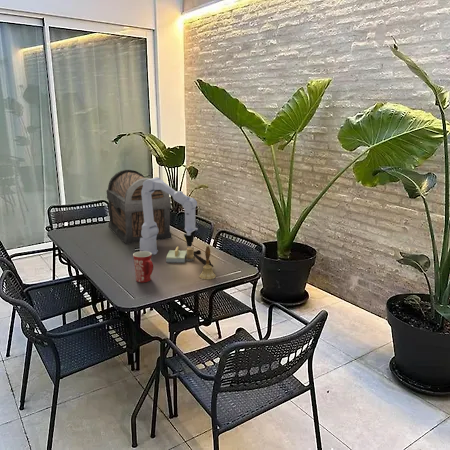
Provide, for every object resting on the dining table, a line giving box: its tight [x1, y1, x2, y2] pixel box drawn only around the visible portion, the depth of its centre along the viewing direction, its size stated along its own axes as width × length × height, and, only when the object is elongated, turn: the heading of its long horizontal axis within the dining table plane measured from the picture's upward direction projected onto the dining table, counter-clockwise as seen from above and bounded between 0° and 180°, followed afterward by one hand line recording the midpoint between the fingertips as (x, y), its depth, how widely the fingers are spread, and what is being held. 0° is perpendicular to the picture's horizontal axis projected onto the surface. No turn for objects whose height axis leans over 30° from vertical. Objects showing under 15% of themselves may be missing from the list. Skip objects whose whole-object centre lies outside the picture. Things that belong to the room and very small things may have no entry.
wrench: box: [194, 250, 214, 268], centre depth 231 cm, size 5×5×30 cm
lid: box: [165, 246, 187, 260], centre depth 233 cm, size 10×12×4 cm
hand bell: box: [198, 245, 217, 281], centre depth 208 cm, size 8×8×16 cm
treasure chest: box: [105, 169, 173, 245], centre depth 278 cm, size 45×32×40 cm
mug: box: [132, 250, 154, 283], centre depth 202 cm, size 13×9×14 cm
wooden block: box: [186, 247, 195, 259], centre depth 233 cm, size 4×4×6 cm
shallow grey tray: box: [165, 253, 187, 264], centre depth 234 cm, size 10×12×2 cm
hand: (190, 244), depth 231 cm, fingers open, 7 cm apart
